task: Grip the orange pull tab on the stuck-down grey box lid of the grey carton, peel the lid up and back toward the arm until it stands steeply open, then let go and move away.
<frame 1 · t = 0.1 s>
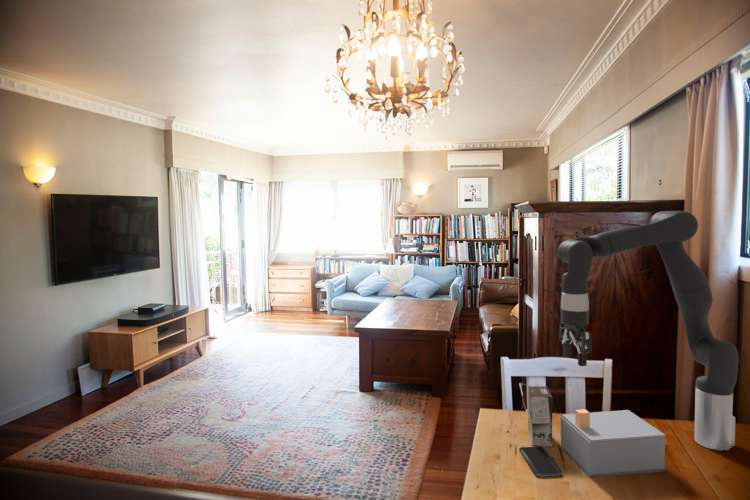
hand: (574, 361, 133), 29 cm above the table, tool pointing down, fingers open, 8 cm apart
coffee box: (539, 439, 145), on the table
phone: (539, 464, 132), on the table
carton box: (609, 458, 132), on the table
grey box lid: (610, 417, 131), point 13 cm above the table, hinge at 0.0°
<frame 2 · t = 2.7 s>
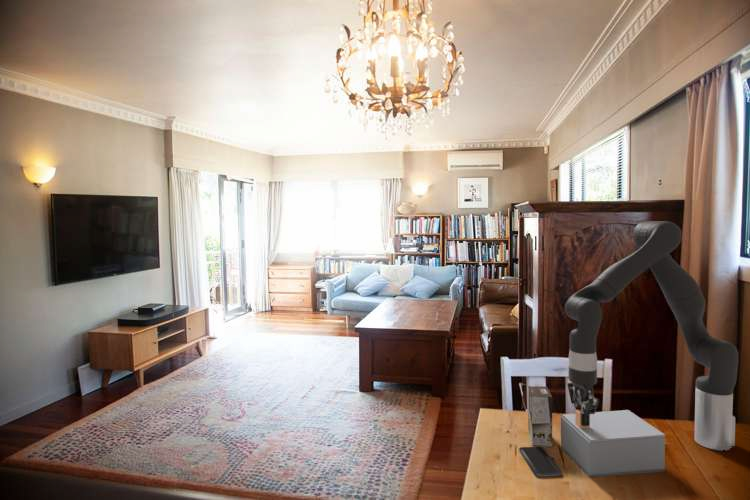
hand: (582, 422, 131), 12 cm above the table, tool pointing down, fingers closed on grey box lid, 2 cm apart
grey box lid: (610, 417, 131), point 13 cm above the table, hinge at 0.0°, touching gripper
everything else where it was.
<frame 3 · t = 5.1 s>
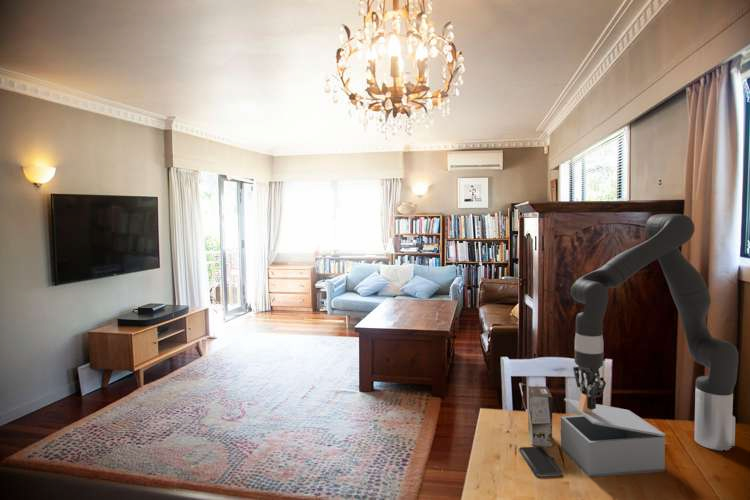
hand: (588, 406, 130), 17 cm above the table, tool pointing down, fingers closed on grey box lid, 2 cm apart
grey box lid: (613, 409, 131), point 15 cm above the table, hinge at 14.0°, touching gripper
everything else where it was.
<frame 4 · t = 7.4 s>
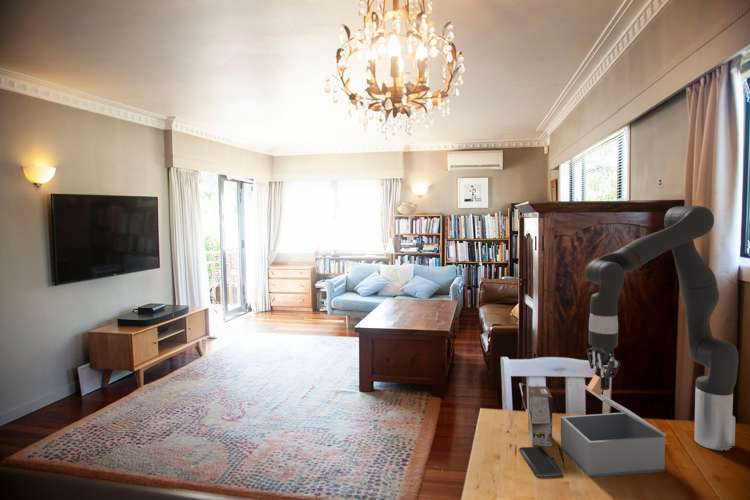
hand: (602, 387, 130), 22 cm above the table, tool pointing down, fingers closed on grey box lid, 2 cm apart
grey box lid: (620, 399, 131), point 18 cm above the table, hinge at 32.2°, touching gripper
everything else where it was.
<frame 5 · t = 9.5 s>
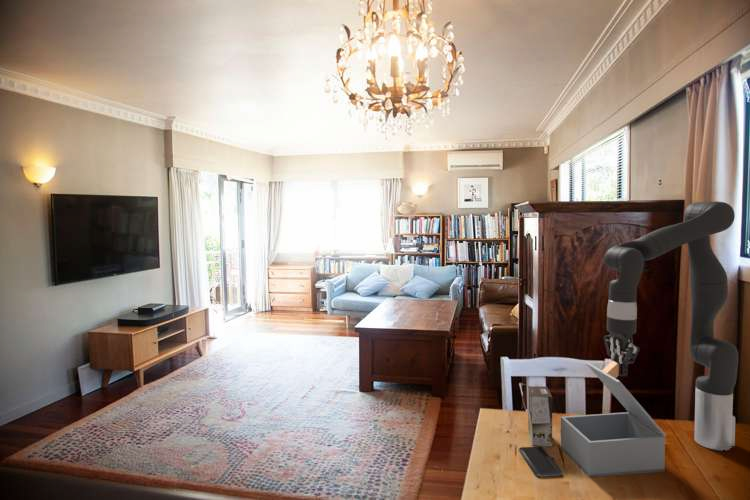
hand: (619, 373, 130), 26 cm above the table, tool pointing down, fingers closed on grey box lid, 2 cm apart
grey box lid: (629, 392, 131), point 20 cm above the table, hinge at 49.9°, touching gripper
everything else where it was.
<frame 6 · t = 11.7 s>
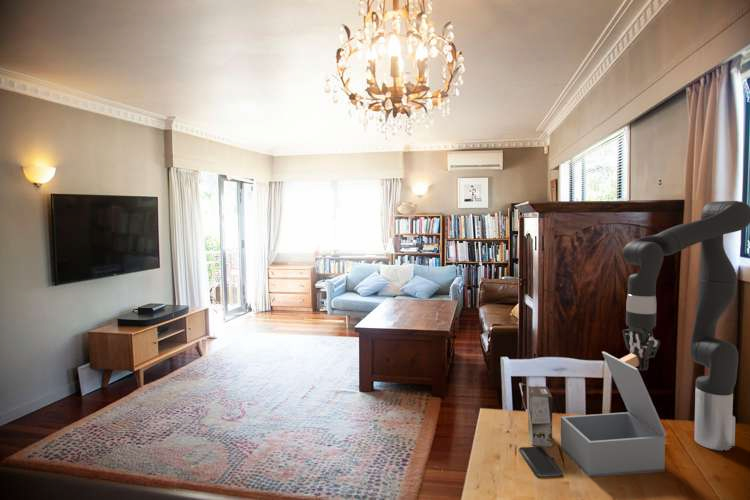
hand: (639, 367, 131), 27 cm above the table, tool pointing down, fingers open, 3 cm apart
grey box lid: (639, 388, 131), point 21 cm above the table, hinge at 65.9°
everything else where it was.
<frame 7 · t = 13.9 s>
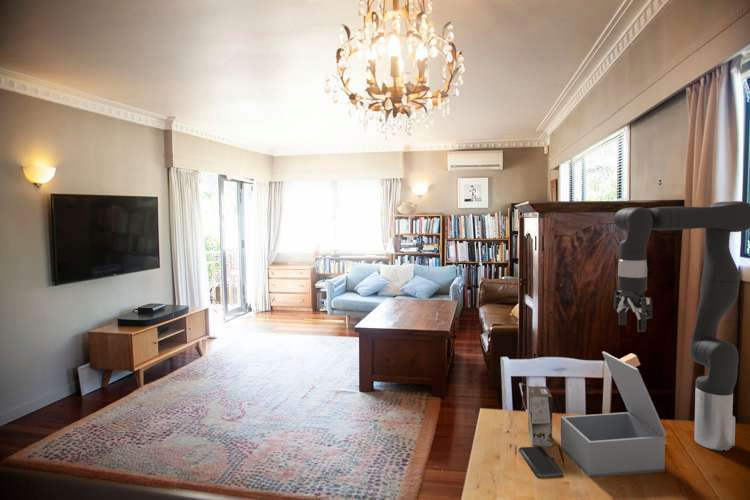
hand: (631, 328, 134), 38 cm above the table, tool pointing down, fingers open, 8 cm apart
nothing on the table moved.
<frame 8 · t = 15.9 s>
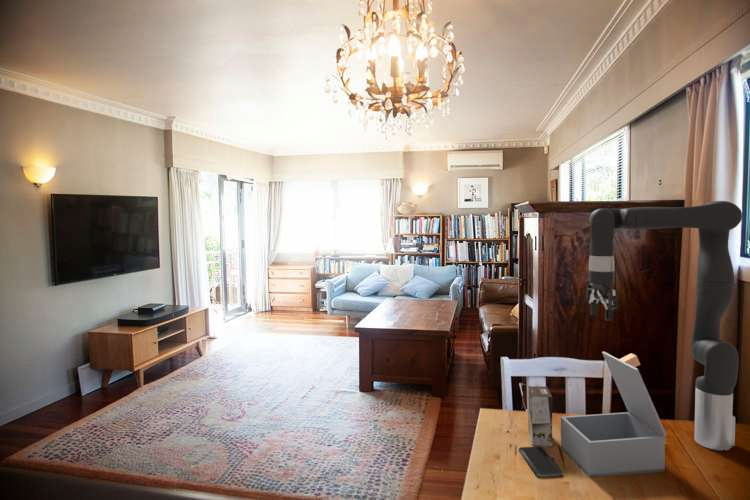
hand: (601, 317, 148), 38 cm above the table, tool pointing down, fingers open, 8 cm apart
nothing on the table moved.
at the end: grey box lid at +66° (first picture: +0°); the gripper is holding nothing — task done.
